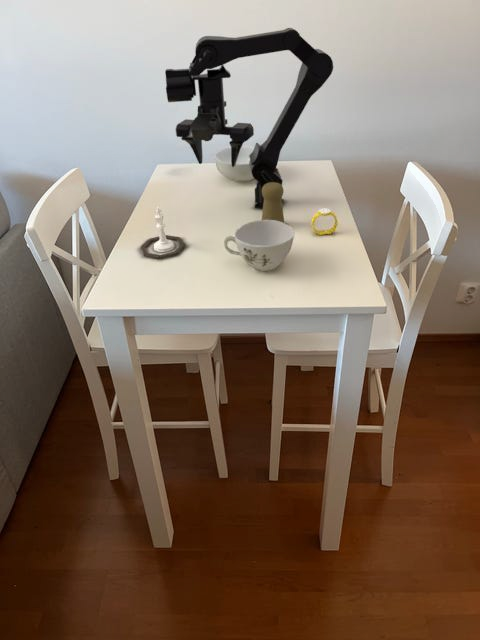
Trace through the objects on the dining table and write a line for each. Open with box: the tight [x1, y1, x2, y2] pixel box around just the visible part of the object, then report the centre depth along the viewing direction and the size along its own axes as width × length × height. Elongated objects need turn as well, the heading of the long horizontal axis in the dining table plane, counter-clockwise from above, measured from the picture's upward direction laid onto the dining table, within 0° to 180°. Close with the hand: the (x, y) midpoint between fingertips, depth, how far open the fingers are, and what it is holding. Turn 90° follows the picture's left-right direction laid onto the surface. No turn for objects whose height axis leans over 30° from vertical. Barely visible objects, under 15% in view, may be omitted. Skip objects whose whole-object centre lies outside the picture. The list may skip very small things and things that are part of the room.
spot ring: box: [139, 234, 186, 260], centre depth 111 cm, size 10×10×1 cm
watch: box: [311, 207, 339, 236], centre depth 111 cm, size 6×3×6 cm, turn 91°
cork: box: [261, 182, 285, 223], centre depth 114 cm, size 6×6×11 cm
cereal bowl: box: [214, 145, 255, 183], centre depth 142 cm, size 17×17×7 cm
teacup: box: [223, 219, 295, 272], centre depth 101 cm, size 15×12×8 cm
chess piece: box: [153, 206, 176, 253], centre depth 108 cm, size 5×5×10 cm
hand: (216, 165), depth 119 cm, fingers open, 9 cm apart
